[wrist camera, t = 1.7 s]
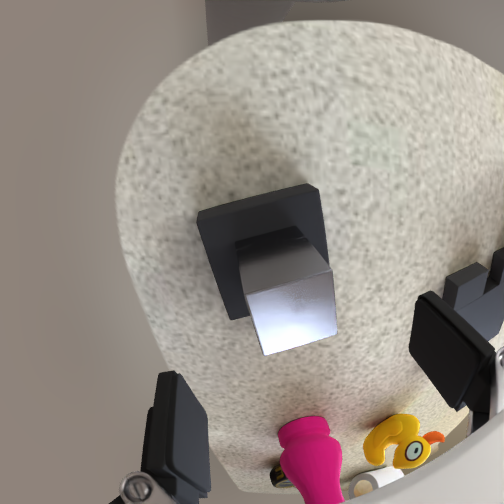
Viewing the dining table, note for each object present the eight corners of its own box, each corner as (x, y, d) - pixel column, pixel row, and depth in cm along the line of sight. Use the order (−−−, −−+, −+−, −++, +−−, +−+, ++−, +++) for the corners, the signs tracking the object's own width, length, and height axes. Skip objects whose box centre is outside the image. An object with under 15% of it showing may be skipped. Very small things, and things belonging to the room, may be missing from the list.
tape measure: (318, 457, 34) (324, 475, 31) (289, 472, 36) (294, 489, 33) (288, 454, 32) (293, 474, 29) (259, 469, 34) (262, 488, 30)
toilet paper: (344, 482, 46) (354, 513, 37) (370, 466, 43) (384, 498, 34) (371, 476, 49) (382, 504, 40) (396, 459, 46) (410, 488, 37)
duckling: (419, 392, 30) (450, 441, 21) (421, 403, 33) (448, 448, 24) (352, 432, 32) (374, 486, 23) (361, 440, 34) (381, 488, 25)
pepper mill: (275, 419, 27) (314, 576, 9) (335, 408, 28) (391, 550, 9) (272, 444, 30) (301, 573, 12) (324, 435, 31) (365, 555, 12)
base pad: (446, 276, 22) (458, 286, 20) (513, 241, 22) (524, 247, 20) (425, 367, 28) (432, 377, 26) (490, 326, 28) (498, 333, 26)
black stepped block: (197, 211, 17) (186, 268, 10) (307, 182, 17) (368, 219, 10) (238, 332, 21) (250, 412, 14) (326, 307, 21) (366, 377, 14)
